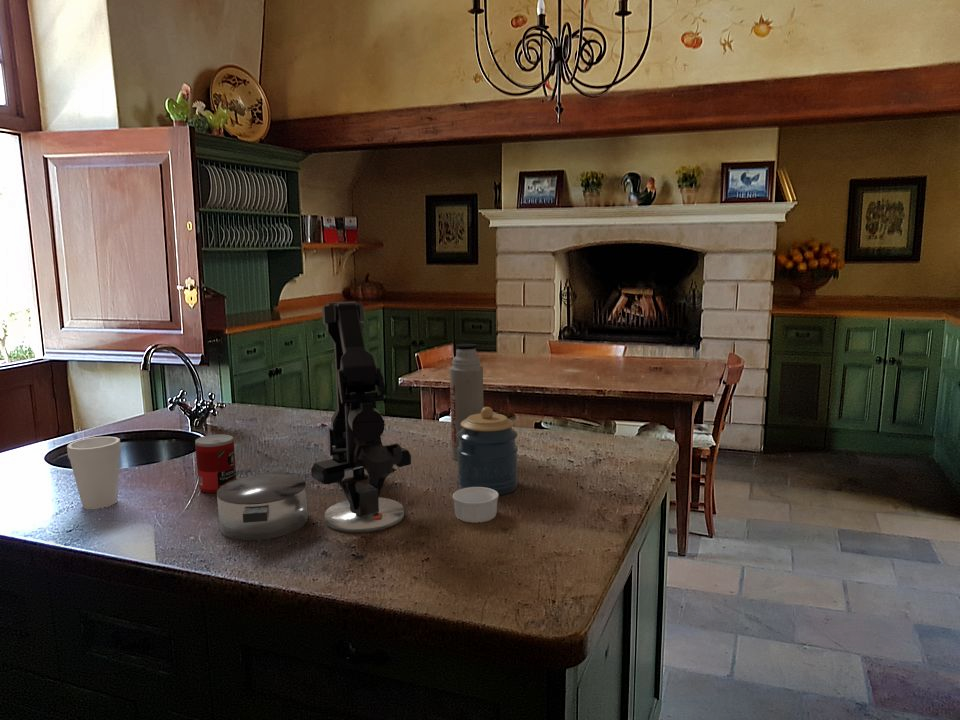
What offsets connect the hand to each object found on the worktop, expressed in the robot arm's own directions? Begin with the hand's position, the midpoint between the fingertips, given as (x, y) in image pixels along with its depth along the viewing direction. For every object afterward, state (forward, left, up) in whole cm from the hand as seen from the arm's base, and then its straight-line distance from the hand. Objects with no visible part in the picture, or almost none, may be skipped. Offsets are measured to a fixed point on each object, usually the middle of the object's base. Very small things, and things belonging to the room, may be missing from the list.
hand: (364, 506), depth 136 cm
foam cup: (+38, -42, -2) cm, 57 cm away
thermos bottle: (-39, -18, -2) cm, 43 cm away
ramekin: (-17, +13, -2) cm, 22 cm away
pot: (+16, -10, -2) cm, 19 cm away
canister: (-29, +2, -2) cm, 29 cm away
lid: (0, 0, -2) cm, 2 cm away
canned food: (+16, -36, -2) cm, 39 cm away
